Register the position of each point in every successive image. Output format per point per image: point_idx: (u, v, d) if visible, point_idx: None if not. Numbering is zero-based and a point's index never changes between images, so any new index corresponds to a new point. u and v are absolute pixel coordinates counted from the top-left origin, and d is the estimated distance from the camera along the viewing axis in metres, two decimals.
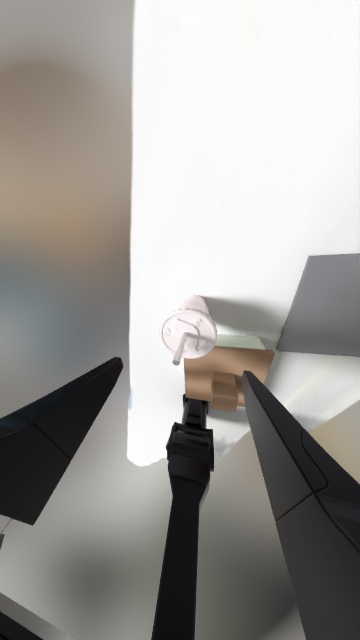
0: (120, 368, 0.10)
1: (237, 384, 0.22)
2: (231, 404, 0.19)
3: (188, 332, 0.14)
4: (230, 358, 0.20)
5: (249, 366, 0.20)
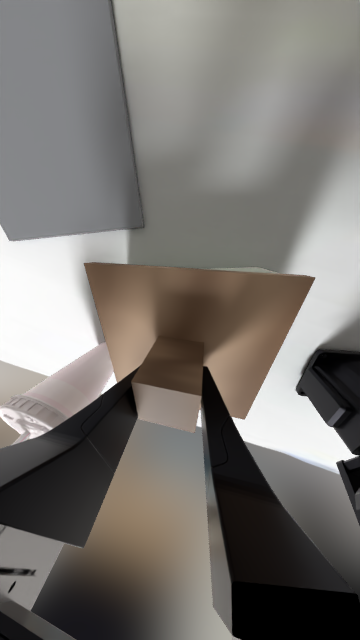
0: None
1: (189, 330, 0.09)
2: (164, 397, 0.06)
3: (23, 429, 0.11)
4: (121, 339, 0.11)
5: (130, 307, 0.09)
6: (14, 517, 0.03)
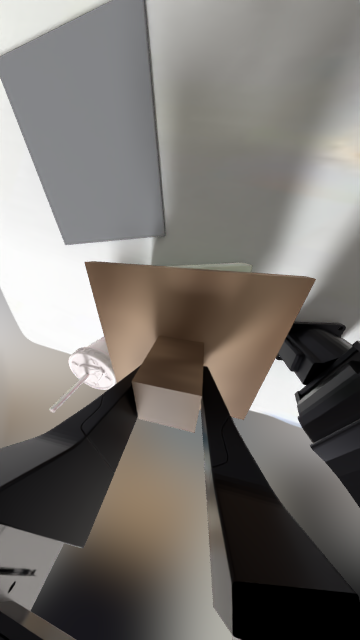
0: None
1: (190, 330, 0.09)
2: (165, 397, 0.06)
3: (84, 372, 0.16)
4: (121, 338, 0.11)
5: (131, 307, 0.09)
6: (13, 517, 0.03)
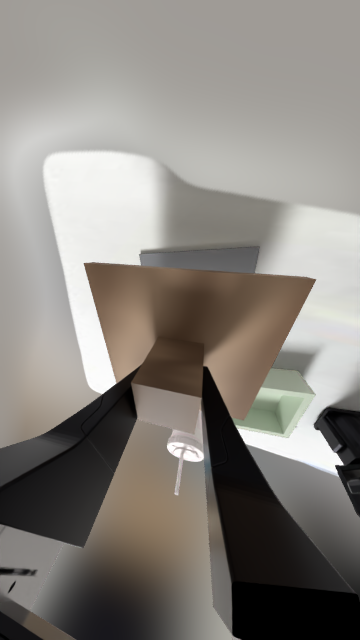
0: None
1: (189, 331, 0.09)
2: (164, 399, 0.06)
3: (180, 452, 0.21)
4: (121, 339, 0.11)
5: (130, 308, 0.09)
6: (14, 517, 0.03)
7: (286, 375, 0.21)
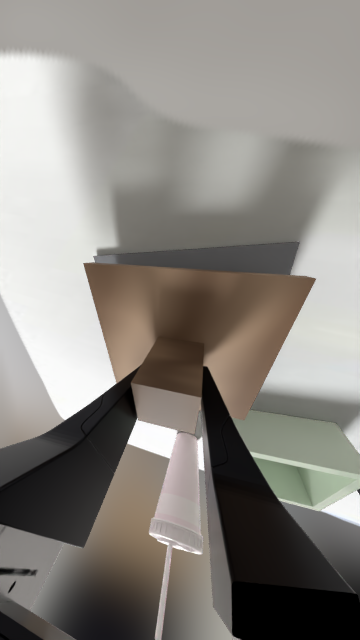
0: None
1: (189, 330, 0.09)
2: (164, 399, 0.06)
3: (168, 544, 0.15)
4: (121, 339, 0.11)
5: (130, 308, 0.09)
6: (13, 517, 0.03)
7: (321, 433, 0.14)
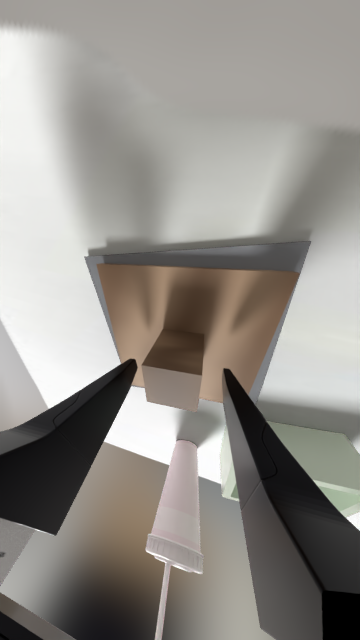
0: (135, 370, 0.10)
1: (191, 322, 0.10)
2: (170, 379, 0.07)
3: (165, 562, 0.14)
4: (128, 333, 0.12)
5: (137, 303, 0.10)
6: None
7: (329, 445, 0.13)
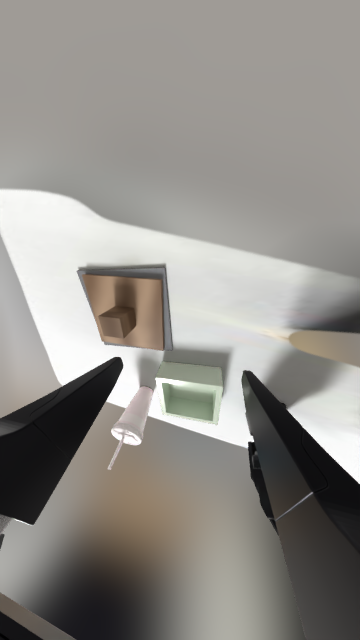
0: (120, 368, 0.10)
1: (126, 302, 0.21)
2: (109, 321, 0.19)
3: (121, 436, 0.25)
4: (99, 308, 0.23)
5: (101, 293, 0.21)
6: None
7: (209, 371, 0.25)
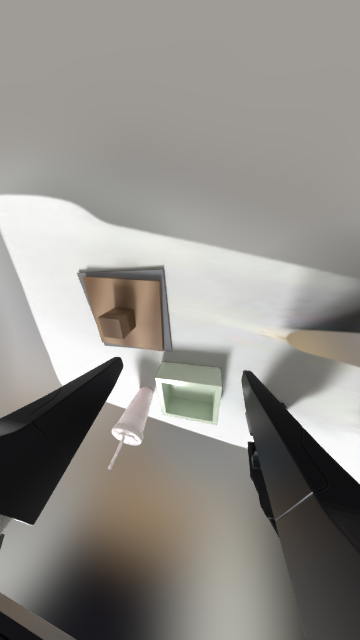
0: (120, 368, 0.10)
1: (126, 303, 0.22)
2: (109, 322, 0.19)
3: (122, 437, 0.25)
4: (99, 310, 0.23)
5: (101, 294, 0.22)
6: None
7: (208, 371, 0.25)
